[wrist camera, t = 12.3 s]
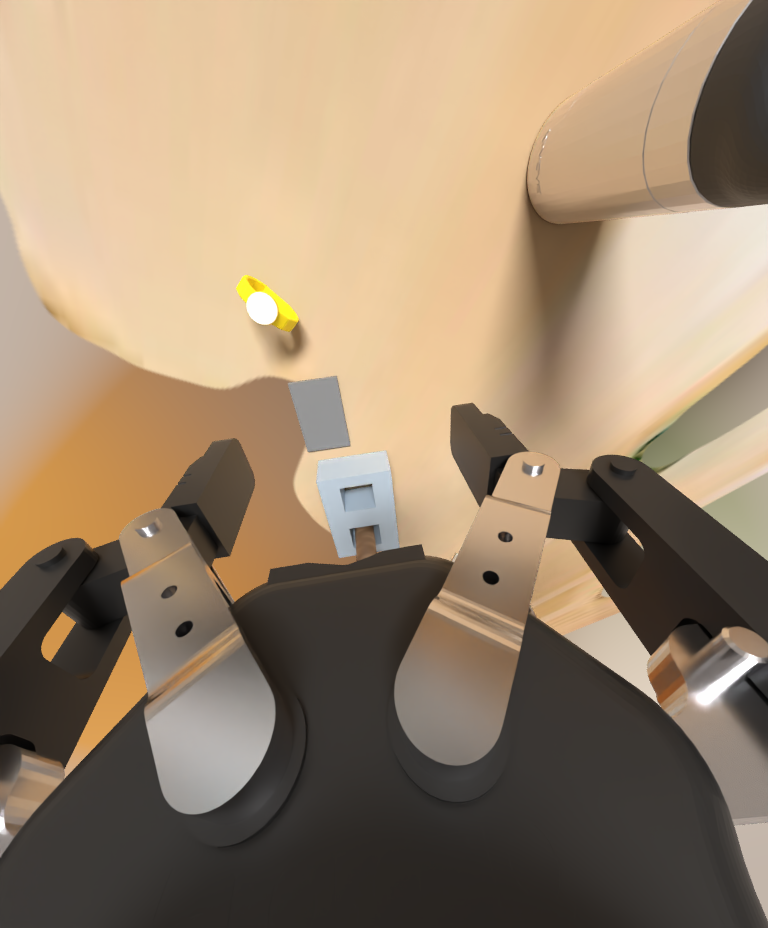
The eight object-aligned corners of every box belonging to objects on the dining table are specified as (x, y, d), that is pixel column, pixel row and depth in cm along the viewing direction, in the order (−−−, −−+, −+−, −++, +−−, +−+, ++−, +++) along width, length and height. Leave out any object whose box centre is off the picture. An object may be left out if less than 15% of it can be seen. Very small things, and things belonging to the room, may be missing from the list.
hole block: (386, 450, 46) (390, 470, 42) (395, 525, 55) (399, 548, 51) (318, 460, 45) (316, 481, 41) (339, 534, 55) (338, 558, 51)
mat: (336, 375, 39) (336, 377, 38) (350, 444, 44) (350, 445, 44) (288, 382, 38) (287, 383, 38) (308, 450, 44) (307, 451, 44)
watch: (243, 290, 33) (221, 295, 28) (257, 267, 32) (237, 267, 27) (291, 332, 35) (280, 342, 30) (306, 311, 34) (296, 319, 29)
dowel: (370, 506, 52) (376, 554, 44) (372, 518, 53) (379, 567, 45) (352, 508, 52) (355, 558, 43) (355, 521, 53) (358, 571, 45)
